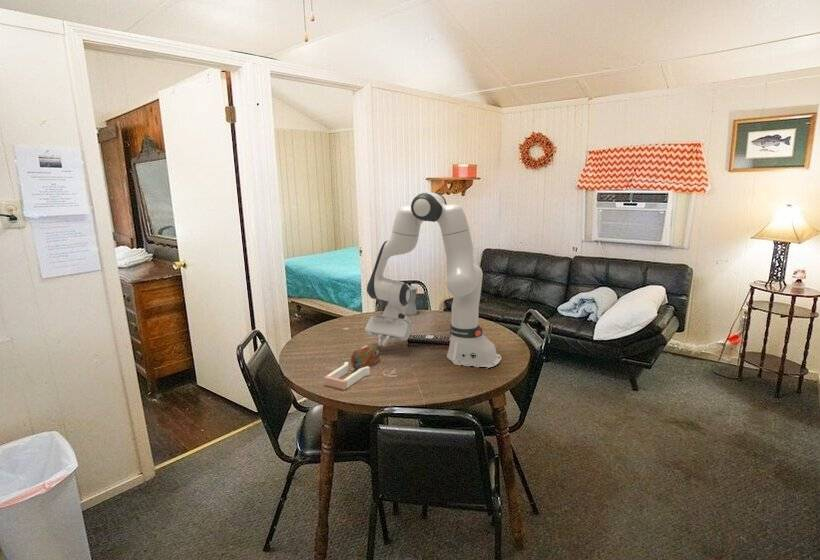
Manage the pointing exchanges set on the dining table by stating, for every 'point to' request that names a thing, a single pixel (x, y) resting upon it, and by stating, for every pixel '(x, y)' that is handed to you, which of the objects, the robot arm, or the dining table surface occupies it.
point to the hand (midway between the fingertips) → (381, 345)
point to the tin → (365, 356)
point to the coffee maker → (411, 302)
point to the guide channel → (338, 383)
